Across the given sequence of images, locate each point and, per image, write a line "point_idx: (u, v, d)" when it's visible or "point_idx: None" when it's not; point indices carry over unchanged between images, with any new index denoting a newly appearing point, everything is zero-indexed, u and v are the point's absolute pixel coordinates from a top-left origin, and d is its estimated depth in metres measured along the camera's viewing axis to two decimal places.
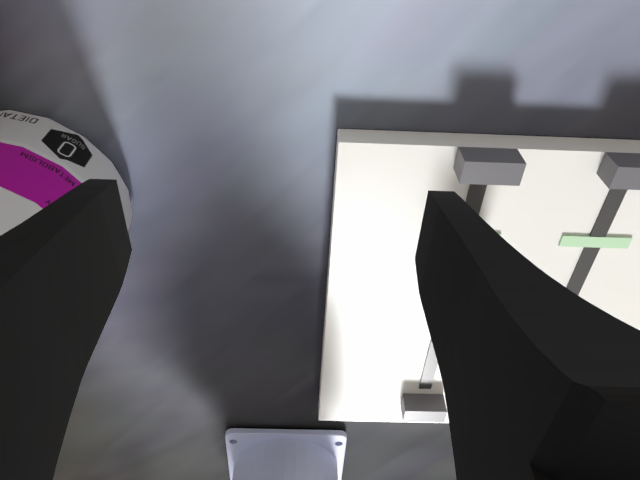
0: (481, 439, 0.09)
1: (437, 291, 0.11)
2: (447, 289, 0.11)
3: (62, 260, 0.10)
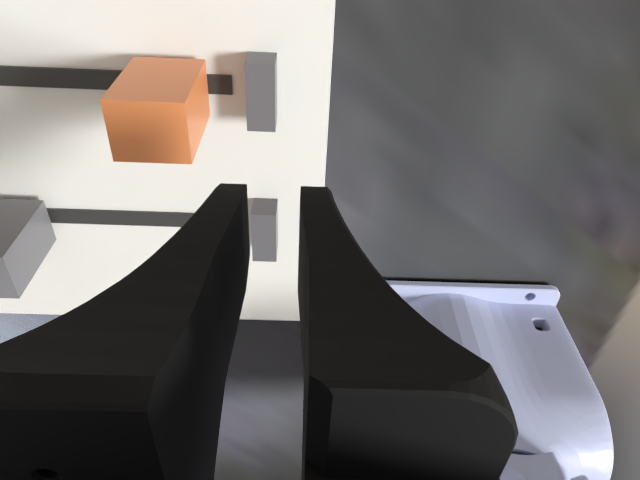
0: None
1: (301, 287, 0.11)
2: (303, 285, 0.11)
3: (222, 265, 0.10)
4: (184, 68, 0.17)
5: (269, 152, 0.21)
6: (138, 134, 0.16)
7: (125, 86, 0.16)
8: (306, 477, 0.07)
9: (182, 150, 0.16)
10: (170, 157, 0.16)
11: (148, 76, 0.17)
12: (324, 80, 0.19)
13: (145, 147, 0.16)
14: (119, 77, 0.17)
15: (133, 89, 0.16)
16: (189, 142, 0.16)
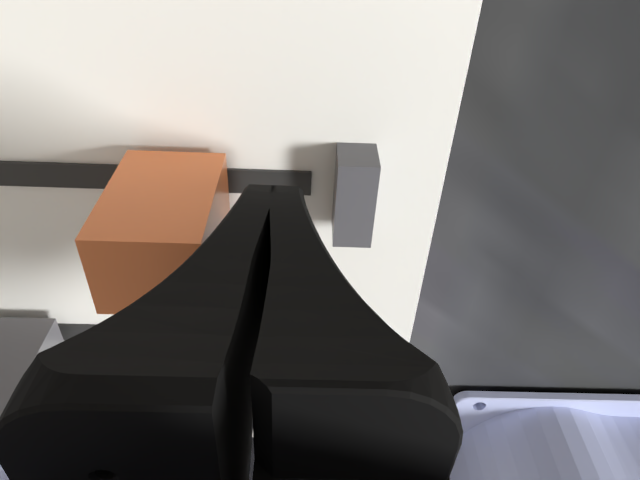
0: None
1: None
2: None
3: (257, 266, 0.10)
4: (197, 171, 0.12)
5: (352, 261, 0.16)
6: (132, 282, 0.11)
7: (113, 210, 0.11)
8: (254, 476, 0.07)
9: None
10: None
11: (147, 188, 0.12)
12: (435, 176, 0.14)
13: None
14: (105, 192, 0.12)
15: (124, 215, 0.11)
16: None
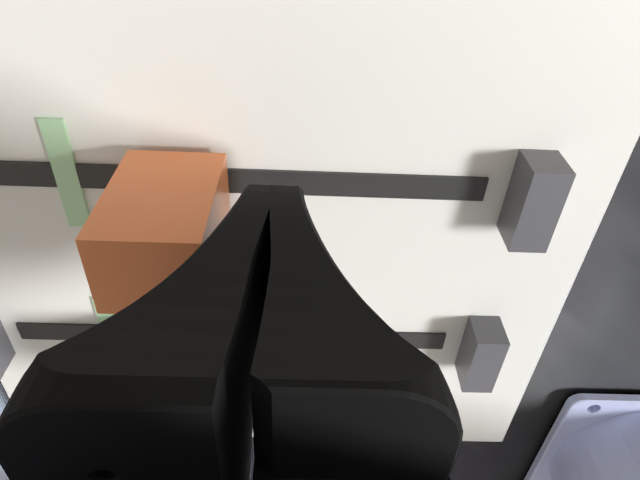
0: None
1: None
2: None
3: (257, 266, 0.10)
4: (197, 171, 0.12)
5: (507, 265, 0.16)
6: (133, 281, 0.11)
7: (114, 210, 0.11)
8: (254, 476, 0.07)
9: None
10: None
11: (147, 188, 0.12)
12: (609, 183, 0.14)
13: None
14: (105, 192, 0.12)
15: (125, 216, 0.11)
16: None
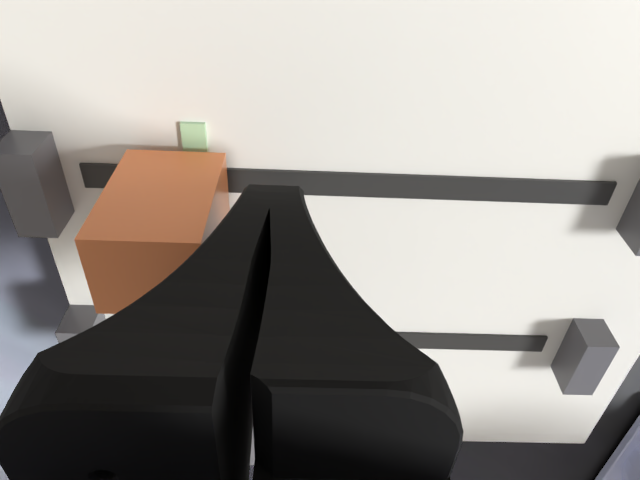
0: None
1: None
2: None
3: (257, 266, 0.10)
4: (197, 171, 0.12)
5: (619, 269, 0.16)
6: (132, 281, 0.11)
7: (113, 209, 0.11)
8: (255, 476, 0.07)
9: None
10: None
11: (146, 188, 0.12)
12: None
13: None
14: (104, 192, 0.12)
15: (124, 215, 0.11)
16: None
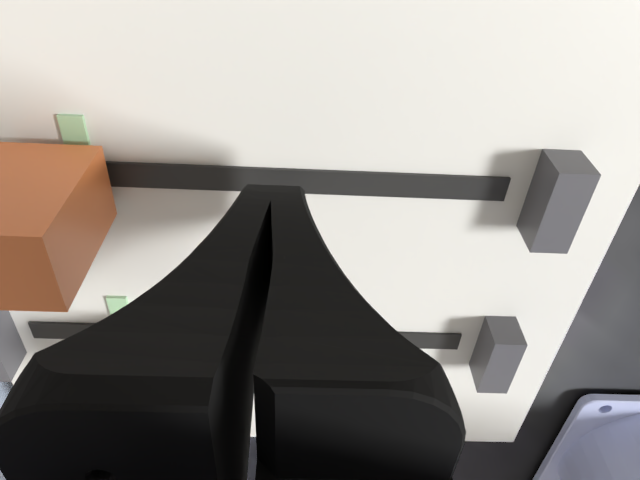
0: None
1: None
2: None
3: (255, 266, 0.10)
4: (65, 164, 0.12)
5: (525, 266, 0.16)
6: None
7: None
8: (257, 476, 0.07)
9: (50, 295, 0.11)
10: (33, 303, 0.11)
11: (6, 181, 0.11)
12: (630, 183, 0.14)
13: None
14: None
15: None
16: (59, 285, 0.11)
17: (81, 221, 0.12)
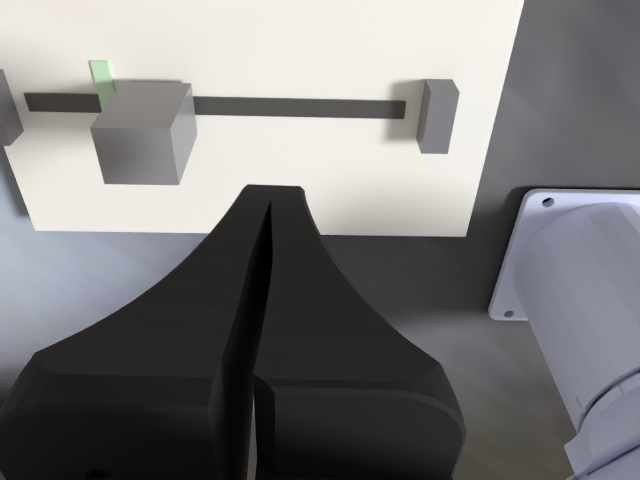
0: None
1: None
2: None
3: (255, 266, 0.10)
4: None
5: (455, 18, 0.18)
6: None
7: None
8: (257, 476, 0.07)
9: None
10: None
11: None
12: None
13: None
14: None
15: None
16: None
17: None
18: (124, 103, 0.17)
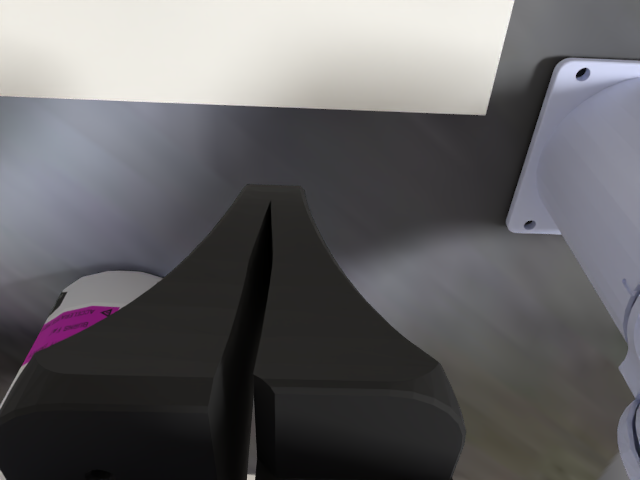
0: None
1: None
2: None
3: (255, 266, 0.10)
4: None
5: None
6: None
7: None
8: (257, 476, 0.07)
9: None
10: None
11: None
12: None
13: None
14: None
15: None
16: None
17: None
18: None
